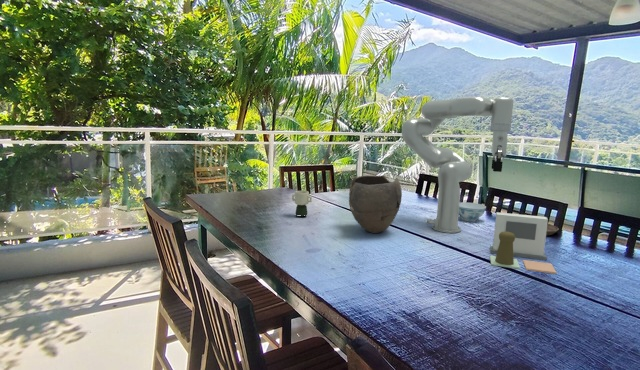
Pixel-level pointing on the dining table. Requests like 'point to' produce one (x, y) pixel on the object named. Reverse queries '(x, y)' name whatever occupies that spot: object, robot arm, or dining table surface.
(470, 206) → the chinaware
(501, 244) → the olive pepper shaker
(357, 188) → the clay pot
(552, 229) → the plant saucer
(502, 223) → the white display panel
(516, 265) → the sage pad
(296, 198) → the trophy cup
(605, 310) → the dining table surface
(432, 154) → the robot arm
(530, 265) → the terracotta pad
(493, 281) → the dining table surface
